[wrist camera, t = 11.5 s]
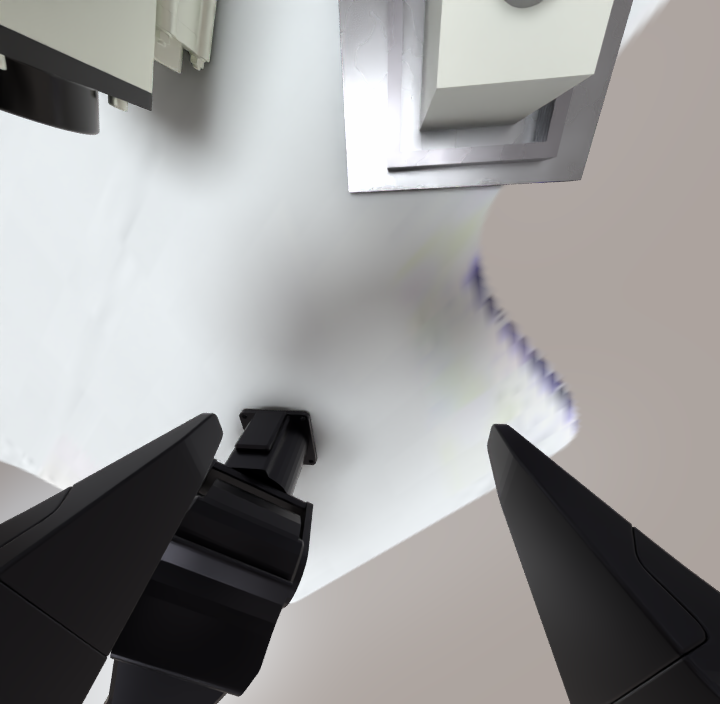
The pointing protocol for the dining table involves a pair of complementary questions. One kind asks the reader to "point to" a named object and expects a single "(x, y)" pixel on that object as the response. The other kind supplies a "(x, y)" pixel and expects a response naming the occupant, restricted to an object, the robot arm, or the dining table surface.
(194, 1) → the pneumatic valve
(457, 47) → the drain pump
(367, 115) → the motor mount
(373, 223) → the dining table surface
